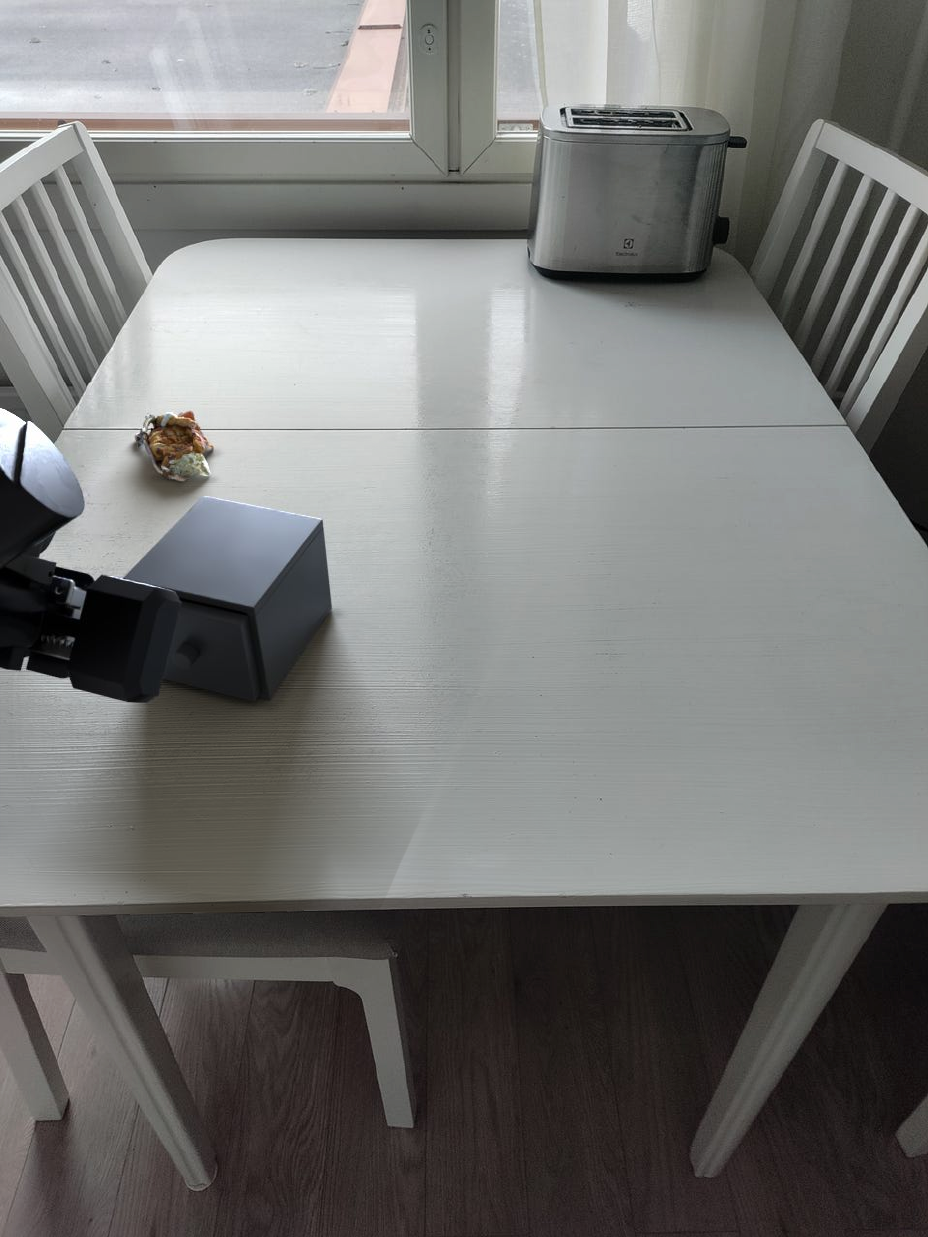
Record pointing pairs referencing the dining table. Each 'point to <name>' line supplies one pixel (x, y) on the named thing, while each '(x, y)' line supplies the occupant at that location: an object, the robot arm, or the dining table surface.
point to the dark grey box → (249, 575)
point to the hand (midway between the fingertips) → (99, 626)
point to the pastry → (175, 445)
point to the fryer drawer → (213, 651)
